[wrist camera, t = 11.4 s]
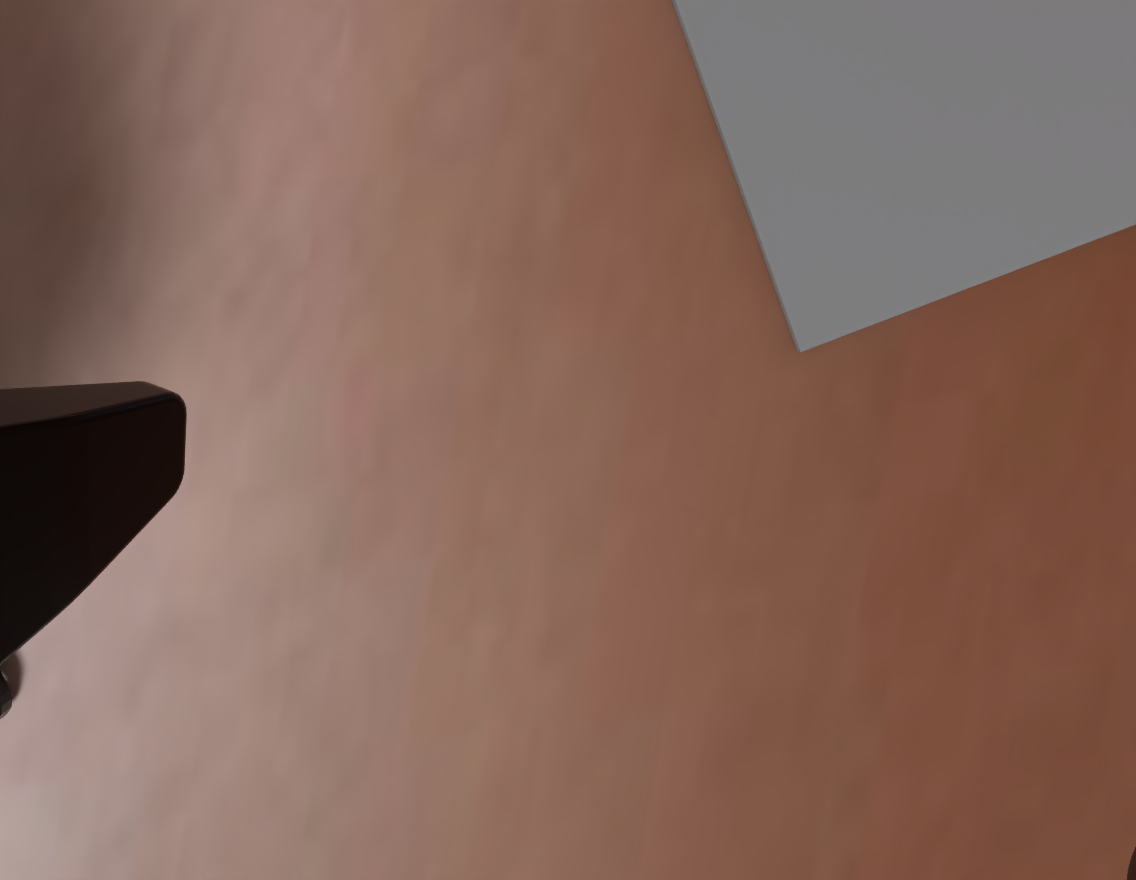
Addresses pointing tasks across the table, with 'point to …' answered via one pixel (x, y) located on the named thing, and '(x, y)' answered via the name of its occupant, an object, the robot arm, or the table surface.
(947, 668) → the table surface
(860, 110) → the rubber mat
